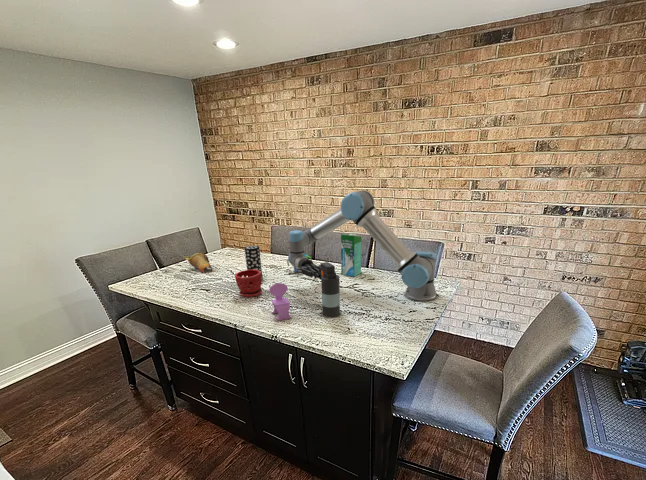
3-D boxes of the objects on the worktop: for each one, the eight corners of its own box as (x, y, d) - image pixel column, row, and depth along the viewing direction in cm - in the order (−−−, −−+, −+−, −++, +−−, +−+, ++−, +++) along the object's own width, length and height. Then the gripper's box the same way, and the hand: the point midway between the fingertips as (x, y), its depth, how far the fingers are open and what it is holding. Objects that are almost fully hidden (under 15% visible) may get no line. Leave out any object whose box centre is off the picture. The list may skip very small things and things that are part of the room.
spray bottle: (317, 310, 159) (315, 263, 150) (332, 306, 162) (331, 260, 153) (327, 319, 150) (325, 269, 141) (343, 315, 154) (342, 266, 145)
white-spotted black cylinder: (245, 282, 197) (241, 248, 189) (253, 277, 204) (250, 245, 196) (257, 283, 194) (253, 249, 186) (265, 279, 201) (262, 246, 194)
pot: (195, 261, 206) (184, 247, 216) (190, 277, 210) (179, 263, 220) (221, 264, 219) (209, 251, 229) (216, 279, 223) (204, 265, 233)
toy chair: (275, 321, 149) (272, 289, 143) (270, 313, 156) (267, 283, 150) (293, 318, 152) (291, 286, 146) (287, 310, 159) (285, 280, 153)
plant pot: (254, 288, 188) (252, 267, 183) (267, 294, 179) (265, 272, 174) (233, 294, 179) (230, 273, 175) (246, 301, 171) (243, 278, 166)
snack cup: (313, 268, 220) (312, 253, 216) (311, 273, 210) (310, 257, 206) (289, 268, 221) (288, 253, 217) (286, 273, 211) (285, 257, 207)
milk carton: (361, 272, 210) (361, 232, 200) (354, 276, 203) (354, 235, 193) (348, 270, 214) (348, 231, 204) (341, 274, 207) (340, 233, 197)
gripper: (316, 269, 178) (337, 283, 158) (293, 273, 172) (311, 288, 153) (315, 256, 175) (336, 268, 155) (292, 259, 169) (310, 272, 150)
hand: (324, 278), depth 154 cm, fingers closed
